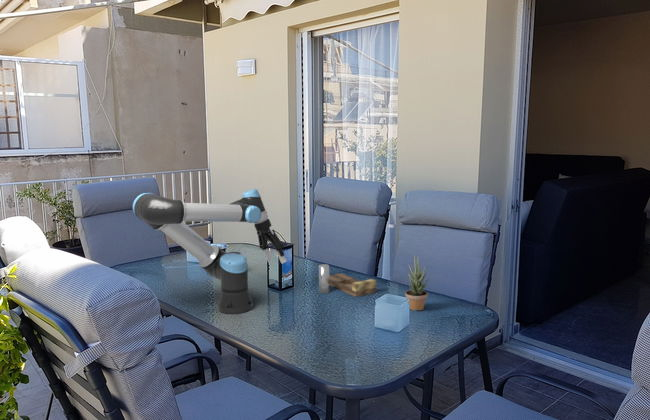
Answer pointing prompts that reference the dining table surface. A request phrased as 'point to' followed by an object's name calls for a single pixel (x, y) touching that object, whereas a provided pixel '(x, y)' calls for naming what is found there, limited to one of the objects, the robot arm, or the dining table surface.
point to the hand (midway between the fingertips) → (277, 262)
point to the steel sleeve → (324, 278)
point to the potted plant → (417, 288)
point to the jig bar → (352, 285)
